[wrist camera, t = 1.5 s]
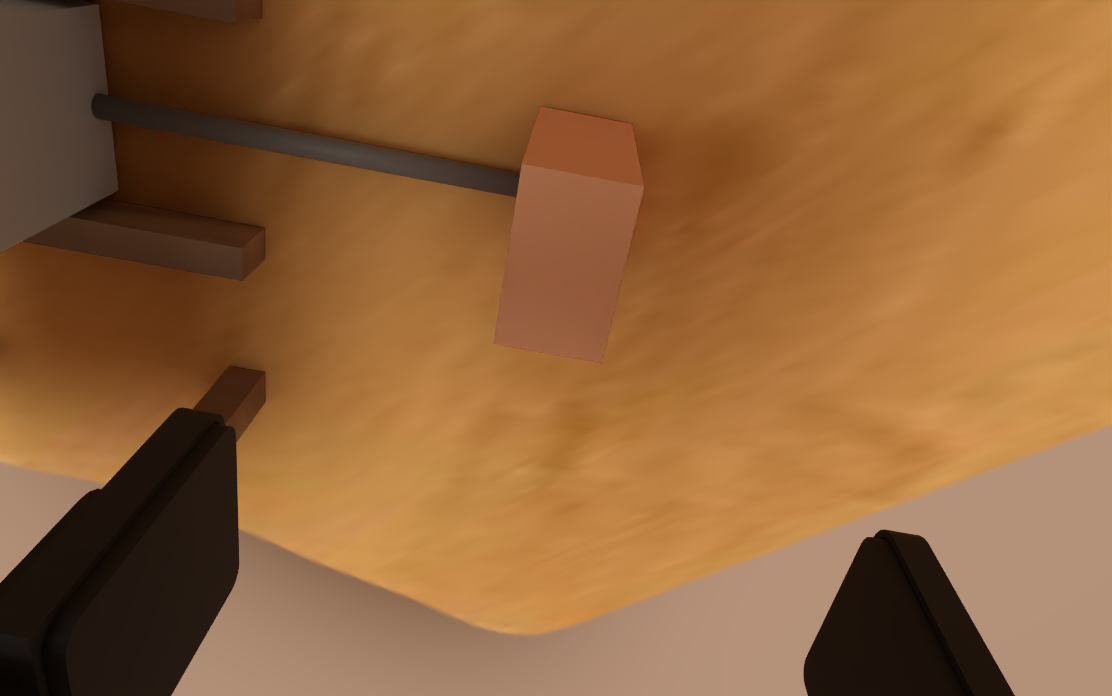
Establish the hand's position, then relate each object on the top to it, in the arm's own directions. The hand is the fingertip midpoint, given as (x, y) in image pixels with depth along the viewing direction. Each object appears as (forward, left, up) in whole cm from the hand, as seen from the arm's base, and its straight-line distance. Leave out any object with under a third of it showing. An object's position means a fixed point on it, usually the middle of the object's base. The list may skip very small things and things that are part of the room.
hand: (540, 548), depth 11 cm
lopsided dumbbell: (0, -10, -17) cm, 19 cm away
